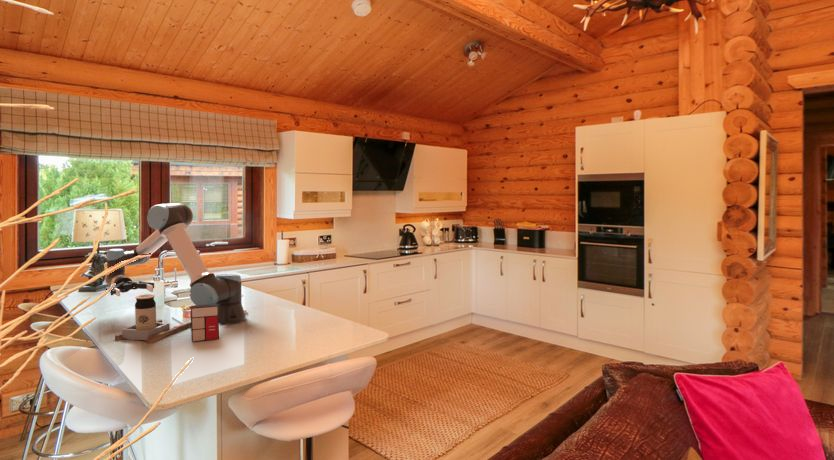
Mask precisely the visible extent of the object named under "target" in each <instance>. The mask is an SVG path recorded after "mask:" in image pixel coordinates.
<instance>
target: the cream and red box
mask: <svg viewBox="0 0 834 460" xmlns="http://www.w3.org/2000/svg"><path fill="white" fill-rule="evenodd" d="M190 322H191V327H190V335H191V342H192V343H195V342H206V341H215V340H220V324H219V307H218V304H209V305H191V306H190Z"/></svg>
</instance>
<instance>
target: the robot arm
mask: <svg viewBox="0 0 834 460" xmlns="http://www.w3.org/2000/svg"><path fill="white" fill-rule="evenodd" d="M193 217H194V214H193V211H192V209H191V208H190V207H189V206H188V205H186V204H185V203H178V202H177V203H160V204H155V205H153V206H151V207H150V208H149V210H148V211H147V216H146V221H147V224H148V226H149V227H150V228H151V229H153V230H155V231H154V232H152V234H150V235H149V236H148V237H147V238H146V239H144V240H143V241H142V242H141V243H140V244H139V245H138V246H137V247H135V248H134V249H132V250H126V251H125V249H123V248H110V249H108V250H106V258H105V260H106V268H109V267H111V266H114V265H115V264H117V263H119V262H121V261H124V260H127V259H130V258H132V257H134V256H137V255H142V254H149V253H151V255H153V253H154V254H155V252H156V251H157V250H158V249H160V248H161V247H162V246H163V245H165V243H167V242H168V243H169V244H170V246H171V249H172V250H173V252H174V253H175V255H176V257H177V259H178V261H179V262H180V265H182V267H183V269H184V271H185V273H186V274H187V276H188V278H189V280H190V283H189V287H190V289H189V298H190V301H191V302H192V303H193V304H194V306H196V305H209V304H218V307H219V325H231V324H237V323H242V322H244V321H245V320H246V318H247V317H246V313H245V310H244V307H243V302H242V299H243V298H242V277H241V275H239V274H233V273H219V274H215V273H214V272H212V271H211V272H210V271H209V269H208V268H207V266H206V264H205V263H204V261H203V259H202V258H201V256H200V254H199V252H198V250H197V249H196V247H195V245H194V243H193V242H192V240H191V238H190V236H189V235H188V233H187V230H186V229H187V228H188V227H189V226H190V225H191V223H192V221H193V219H194V218H193ZM151 255H150V256H149V257H147V258H142V259H138V260H136V261H134V262H131V263H129V264H127V265H125V266H123V267H121V268H119V269H117V270H115V271H114V272H112V273H110V274H109V275H107V274H106V276H105V284H107V286H106V287H105V291H106V290H107V289H108V288H109V287H110V285H111V284H113V283H116V285H115V286H114V287H113V289H112V290H111V292H110V293H109V294H110V296H114V295H115V296H117V297H121V293H123V294H124V293H128V292H130V290H134V291H135V290H139V289H140V290H147V292H151V293H154V289H155V282H151V281H148V282H147V281H142V280H139V281H133V279H131V278H130V277H128V276H126V275H125V274H126V267H129V266H136V265H142V264H146V263H148V262H149V261H150V259H151Z"/></svg>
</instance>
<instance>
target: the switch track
mask: <svg viewBox="0 0 834 460" xmlns="http://www.w3.org/2000/svg"><path fill="white" fill-rule="evenodd" d="M156 322H161V323H163V319H156ZM189 328H191V321H186V322H184V323H181V324H178V325H176V326H173V327H171V328H170V329H168V330H166V331H163V332H160V333H158V334H156V335H153V336H151V337H148V338H146V340H145V341H146V342H145V343H146V344H153V343H155V342H158V341H159V340H162V339H164V338H167V337H169V336H171V335H174V334H177V333H178V332H182V331H183V330H186V329H189ZM123 339H125V338H122V332H121V333H118V334H115V335H114V340H115V341H120V340H123Z"/></svg>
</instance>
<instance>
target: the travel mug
mask: <svg viewBox="0 0 834 460" xmlns="http://www.w3.org/2000/svg"><path fill="white" fill-rule="evenodd" d="M134 298H135V299H136V301H135V303H134V312H135V314H134V315H135V324H136V330H146V331H148V330H151V329H153V328H156V320H157V307H156V304H157V303H156V301H155V294H150V293H148V294H146V293H145V294H138V295H136V296H135V297H134Z"/></svg>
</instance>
